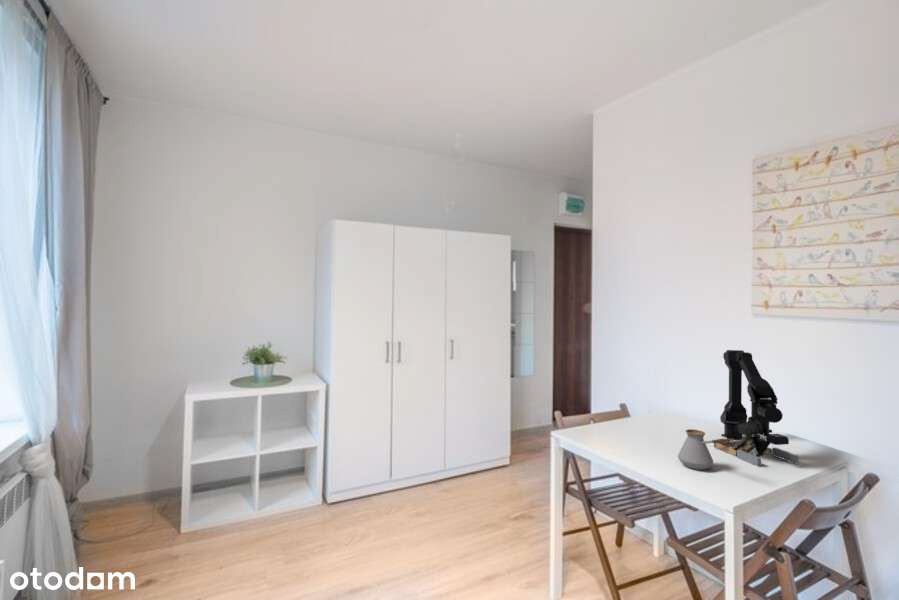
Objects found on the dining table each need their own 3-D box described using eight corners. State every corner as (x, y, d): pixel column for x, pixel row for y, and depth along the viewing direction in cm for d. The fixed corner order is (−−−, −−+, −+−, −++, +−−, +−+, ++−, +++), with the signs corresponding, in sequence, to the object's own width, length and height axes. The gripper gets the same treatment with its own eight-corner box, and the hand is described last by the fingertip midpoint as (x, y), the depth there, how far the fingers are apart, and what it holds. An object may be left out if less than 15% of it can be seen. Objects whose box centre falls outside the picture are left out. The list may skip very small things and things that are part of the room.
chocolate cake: (747, 460, 164) (766, 438, 165) (729, 450, 170) (747, 428, 171) (752, 472, 168) (770, 450, 170) (734, 461, 175) (752, 440, 176)
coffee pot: (670, 462, 161) (670, 423, 161) (693, 458, 164) (693, 420, 164) (722, 485, 140) (723, 441, 140) (747, 481, 144) (747, 437, 144)
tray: (714, 447, 177) (714, 442, 177) (748, 444, 180) (748, 440, 180) (736, 456, 167) (736, 451, 167) (772, 454, 170) (772, 449, 170)
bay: (737, 457, 165) (737, 450, 165) (775, 454, 169) (775, 447, 169) (757, 466, 157) (757, 458, 157) (798, 463, 160) (798, 455, 160)
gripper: (723, 410, 173) (723, 448, 173) (764, 423, 155) (764, 465, 155) (746, 409, 175) (746, 446, 175) (789, 421, 157) (789, 463, 157)
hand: (760, 455), depth 165 cm, fingers closed
